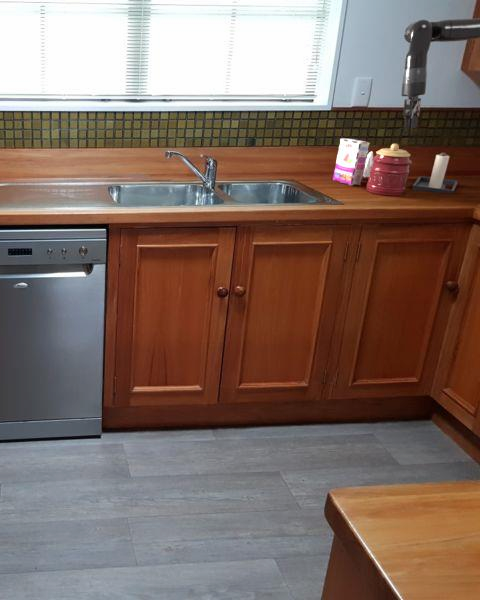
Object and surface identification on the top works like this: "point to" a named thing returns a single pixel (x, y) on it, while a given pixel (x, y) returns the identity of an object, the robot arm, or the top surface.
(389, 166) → the kitchen canister
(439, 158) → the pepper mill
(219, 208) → the top surface
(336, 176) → the candy bar box
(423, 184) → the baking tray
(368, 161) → the shaker set
